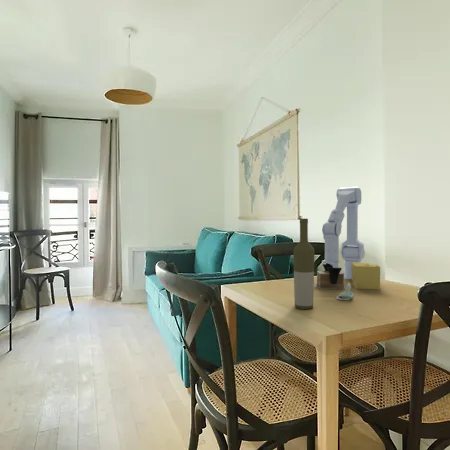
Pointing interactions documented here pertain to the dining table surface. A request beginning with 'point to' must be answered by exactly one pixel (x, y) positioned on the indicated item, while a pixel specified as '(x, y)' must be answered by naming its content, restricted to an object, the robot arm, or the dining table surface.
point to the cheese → (365, 275)
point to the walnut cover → (325, 282)
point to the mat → (331, 288)
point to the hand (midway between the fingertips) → (331, 282)
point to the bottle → (304, 269)
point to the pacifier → (346, 293)
